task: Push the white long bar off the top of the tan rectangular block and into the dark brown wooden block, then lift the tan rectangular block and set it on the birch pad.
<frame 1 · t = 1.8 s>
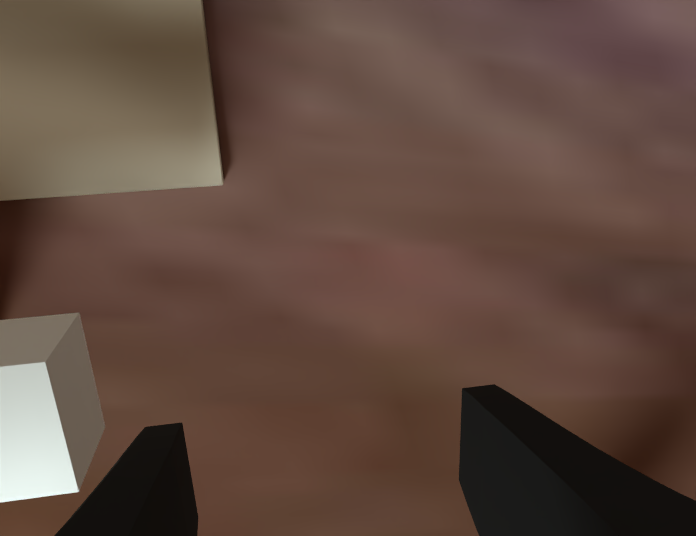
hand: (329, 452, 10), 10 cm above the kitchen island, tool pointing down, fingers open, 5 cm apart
pad: (16, 13, 16), on the kitchen island
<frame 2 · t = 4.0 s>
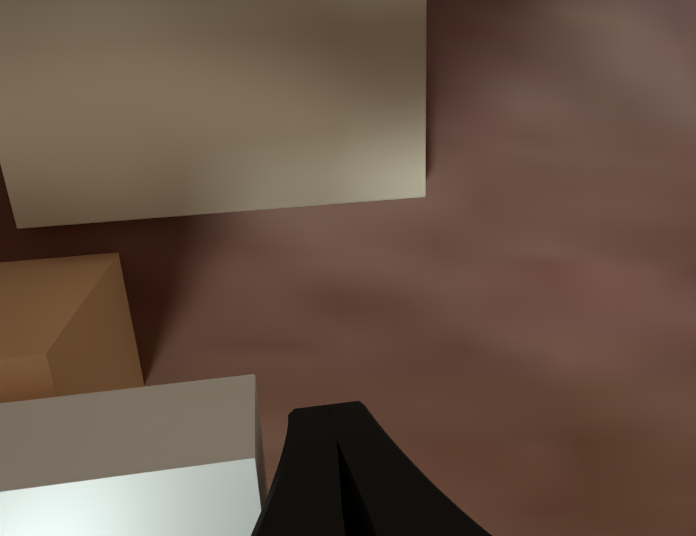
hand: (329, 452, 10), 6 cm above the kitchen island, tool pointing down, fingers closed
tan rectangular block: (54, 329, 15), on the kitchen island
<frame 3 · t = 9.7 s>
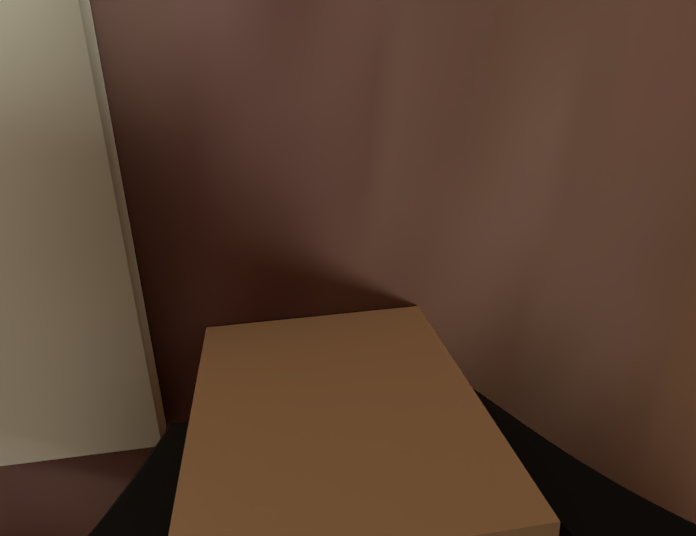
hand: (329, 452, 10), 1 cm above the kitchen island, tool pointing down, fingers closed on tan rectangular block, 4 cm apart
tan rectangular block: (320, 406, 11), on the kitchen island, touching gripper
when the fingers open (3 cm above the kitchen island, at t = 13.1 s): tan rectangular block drops 1 cm, resting on pad.
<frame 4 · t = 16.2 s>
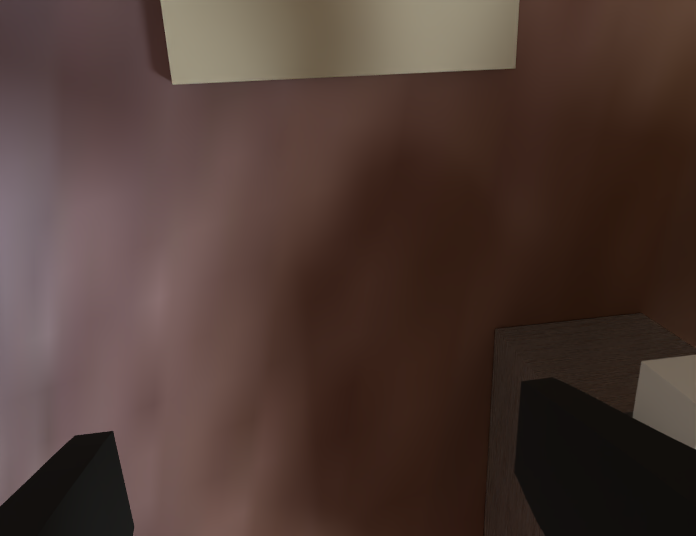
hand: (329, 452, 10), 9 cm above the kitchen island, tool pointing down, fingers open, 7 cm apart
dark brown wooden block: (555, 453, 23), on the kitchen island
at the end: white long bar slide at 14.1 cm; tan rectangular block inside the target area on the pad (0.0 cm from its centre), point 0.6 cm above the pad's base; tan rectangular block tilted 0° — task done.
